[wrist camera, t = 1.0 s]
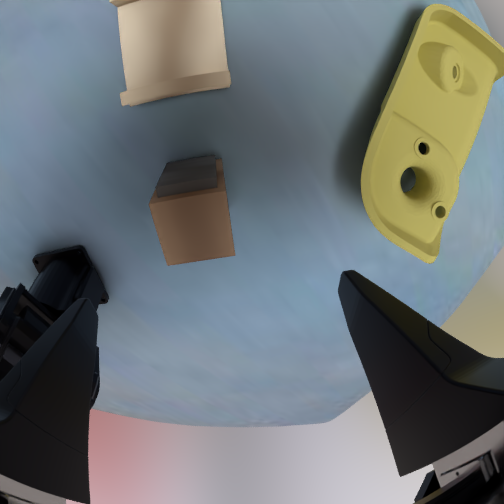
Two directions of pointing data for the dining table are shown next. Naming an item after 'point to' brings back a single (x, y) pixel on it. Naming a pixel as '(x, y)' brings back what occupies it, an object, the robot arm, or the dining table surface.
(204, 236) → the walnut finger
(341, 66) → the dining table surface
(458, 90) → the plastic component
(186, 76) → the rail
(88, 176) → the dining table surface
